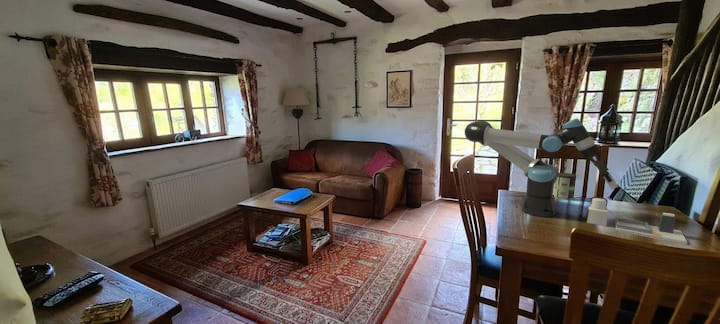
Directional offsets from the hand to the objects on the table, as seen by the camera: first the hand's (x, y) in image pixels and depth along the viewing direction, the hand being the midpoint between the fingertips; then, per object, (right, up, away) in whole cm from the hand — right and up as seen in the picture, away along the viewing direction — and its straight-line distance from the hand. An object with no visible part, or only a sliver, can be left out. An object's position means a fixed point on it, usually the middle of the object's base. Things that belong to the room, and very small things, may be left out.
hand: (613, 185), depth 142 cm
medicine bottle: (-11, -17, -4) cm, 21 cm away
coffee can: (-1, -10, +34) cm, 35 cm away
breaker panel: (+2, -19, -15) cm, 24 cm away
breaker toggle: (+7, -18, -17) cm, 26 cm away
